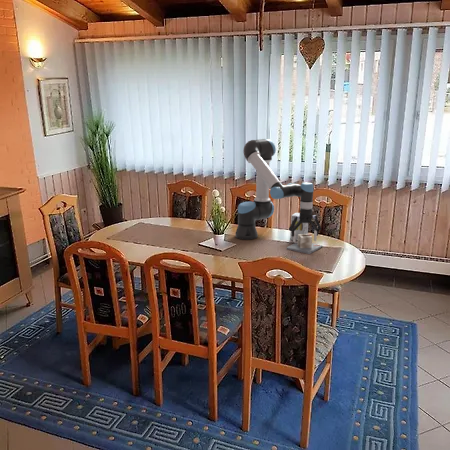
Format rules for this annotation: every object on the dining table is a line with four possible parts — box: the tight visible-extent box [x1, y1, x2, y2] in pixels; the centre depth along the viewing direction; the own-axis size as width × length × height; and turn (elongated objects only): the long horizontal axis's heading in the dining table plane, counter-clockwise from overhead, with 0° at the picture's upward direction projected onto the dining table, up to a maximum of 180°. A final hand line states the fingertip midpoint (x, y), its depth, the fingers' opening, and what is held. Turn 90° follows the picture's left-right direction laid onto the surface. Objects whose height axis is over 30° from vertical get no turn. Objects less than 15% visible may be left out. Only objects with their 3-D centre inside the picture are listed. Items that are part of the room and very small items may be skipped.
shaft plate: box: [286, 241, 323, 255], centre depth 289 cm, size 16×17×6 cm
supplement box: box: [289, 212, 309, 242], centre depth 307 cm, size 10×9×17 cm
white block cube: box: [297, 233, 313, 248], centre depth 288 cm, size 7×7×7 cm
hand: (304, 241), depth 288 cm, fingers open, 13 cm apart
